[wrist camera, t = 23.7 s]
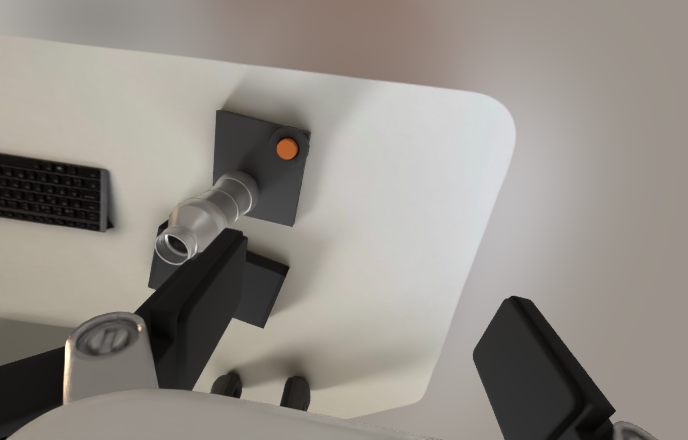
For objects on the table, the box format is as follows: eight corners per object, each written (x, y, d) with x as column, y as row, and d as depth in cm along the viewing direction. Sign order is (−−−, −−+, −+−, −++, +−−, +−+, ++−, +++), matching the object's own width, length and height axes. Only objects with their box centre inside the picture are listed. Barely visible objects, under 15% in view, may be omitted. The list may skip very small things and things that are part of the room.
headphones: (310, 375, 69) (292, 480, 50) (312, 393, 71) (295, 500, 53) (216, 371, 70) (165, 472, 52) (221, 389, 73) (174, 492, 54)
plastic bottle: (236, 211, 51) (165, 283, 32) (216, 174, 48) (126, 231, 30) (270, 199, 49) (216, 268, 31) (251, 161, 47) (180, 211, 29)
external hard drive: (267, 318, 62) (263, 329, 59) (157, 278, 59) (147, 287, 57) (289, 266, 56) (286, 275, 54) (168, 219, 54) (158, 226, 51)
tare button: (280, 136, 44) (277, 137, 42) (299, 140, 44) (297, 142, 42) (278, 154, 45) (275, 156, 43) (296, 159, 45) (294, 161, 44)
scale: (220, 106, 45) (211, 108, 42) (313, 130, 46) (310, 133, 43) (215, 204, 52) (207, 211, 49) (296, 224, 52) (292, 231, 50)
